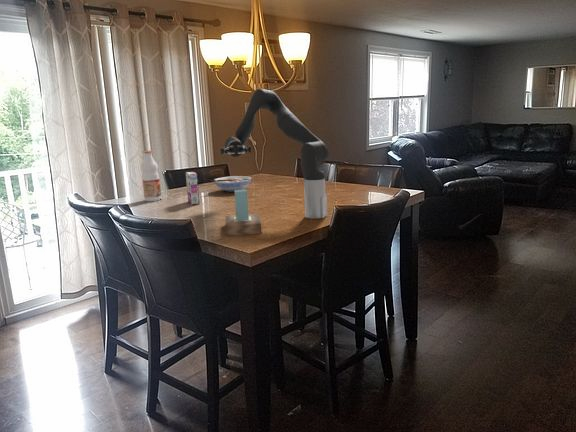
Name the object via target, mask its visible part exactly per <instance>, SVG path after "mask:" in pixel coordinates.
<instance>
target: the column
mask: <svg viewBox="0 0 576 432" xmlns="http://www.w3.org/2000/svg"><path fill="white" fill-rule="evenodd" d="M233 193H234V201H235V202H234V203H235V204H234V206H235V215H236V219H237V221H240V220H249V214H250V213H249V202H248V189H247V188H243V189H239V190H234V192H233Z"/></svg>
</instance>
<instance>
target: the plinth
mask: <svg viewBox="0 0 576 432" xmlns="http://www.w3.org/2000/svg"><path fill="white" fill-rule="evenodd" d="M248 214H249V220H240V221H237V219H236V214H229V215H225V234H226V235H225V236H227V237H231V236H240V235H253V234H262V223H261V218H260V216H259V213H258V212H257V213H255V212H254V213H248Z"/></svg>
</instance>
